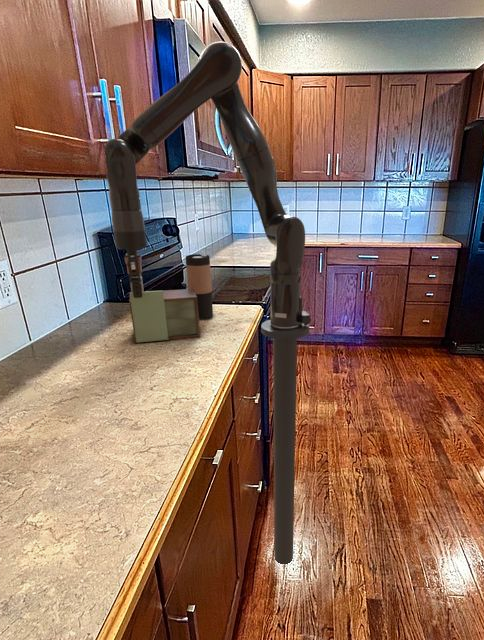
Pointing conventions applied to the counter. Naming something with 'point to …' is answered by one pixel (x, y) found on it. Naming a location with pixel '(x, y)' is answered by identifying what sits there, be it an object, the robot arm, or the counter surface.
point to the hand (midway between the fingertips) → (138, 295)
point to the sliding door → (149, 315)
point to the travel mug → (200, 283)
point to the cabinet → (179, 314)
